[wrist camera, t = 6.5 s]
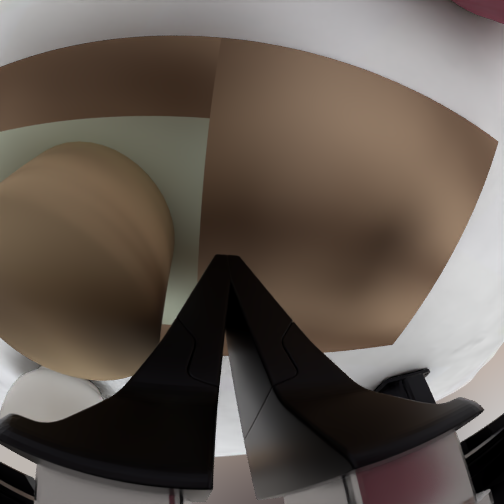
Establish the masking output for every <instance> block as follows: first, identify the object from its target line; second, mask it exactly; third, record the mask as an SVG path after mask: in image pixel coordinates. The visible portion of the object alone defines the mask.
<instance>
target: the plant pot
mask: <svg viewBox="0 0 504 504" xmlns="http://www.w3.org/2000/svg"><path fill="white" fill-rule="evenodd" d="M451 1H453V2H454V3H456V4H457V5H459V6H460V7H462V8H464V9H465V10H467V11H470V12H472V13H474V14H476V15H479V16H482V17H485V18H488V19H491V20H494V21H497V22H500V23H502V24H504V0H451Z"/></svg>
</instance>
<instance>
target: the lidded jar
mask: <svg viewBox="0 0 504 504" xmlns="http://www.w3.org/2000/svg"><path fill="white" fill-rule="evenodd" d="M100 395H101V393H100V391H99V389H98V388H97V387H96V386H95V385H94V384H93V383H91V382H90V381H89V380H87V379H81V378H76V377H72V376H68V375H65V374H61V373H59V372H56V371H53V370H51V369H48V368H46V367H44V366H40V367H39V369H37V370H33V371H30V372H28V373H25V374H23V375H22V376H21V377H19V378H18V379H17V380H16V381H15V382H14V383H13V384H12V386H11V387H10V389H9V391H8V392H7V394H6V396H5V399H4V401H3V404H2V407H1V410H0V419H1V418H3V417H4V416H6V415H8V414H11V413H14V414H18V415H20V416H23V417H26V418H29V419H31V420H34V421H38V422H54V421H58V420H61V419H64V418H67V417H69V416H71V415H73V414H75V413H78V412H80V411H82V410H84V409H86V408H89V407H91V406H93V405H95V404H97V403H99V402H101V401H103V398H102V397H101V396H100Z"/></svg>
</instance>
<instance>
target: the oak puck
mask: <svg viewBox="0 0 504 504" xmlns="http://www.w3.org/2000/svg"><path fill="white" fill-rule="evenodd" d="M174 244H175V239H174V227H173V220H172V217H171V214H170V210H169V208H168V206H167V203H166V201H165V199H164V197H163V195H162V193H161V192H160V190H159V189H158V187H157V185H156V184H155V183H154V182H153V180H152V179H151V178H150V177H149V175H148V174H147V173H146V172H145V171H144V170H143V169H142V168H141V167H140V166H139V165H137V164H136V163H135V162H133V161H132V160H131V159H129V158H128V157H127V156H125V155H123V154H121V153H120V152H118V151H116V150H114V149H111V148H109V147H106V146H104V145H100V144H96V143H92V142H80V141H79V142H67V143H63V144H59V145H56V146H54V147H52V148H50V149H47V150H46V151H44V152H43V153H41V154H40V155H38V156H36V157H35V158H33V159H32V160H30V161H29V162H28V163H26V164H25V165H23V166H22V167H20V168H19V169H18V170H16V171H15V172H14V173H12V174H11V175H10V176H8V177H7V178H6V179H4V180H3V181H2V182H0V338H2V339H3V340H4V341H5V342H6V343H7V344H9V345H10V346H11V347H12V348H14V349H15V350H16V351H18V352H19V353H21V354H22V355H24V356H25V357H27V358H29V359H30V360H32V361H34V362H36V363H38V364H40V365H42V366H44V367H46V368H48V369H51V370H53V371H56V372H59V373H61V374H65V375H68V376H72V377H76V378H81V379H87V380H100V381H107V380H117V379H123V378H126V377H130V376H133V375H134V374H135V373H136V371H137V370H138V369H139V368H140V366H141V365H142V364H143V363H144V362H145V360H146V359H147V358H148V357H149V355H150V354H151V353H152V352H153V351H154V349H155V348H156V347H157V345H158V344H159V343H160V335H161V327H162V320H163V313H164V306H165V299H166V292H167V286H168V280H169V274H170V268H171V263H172V257H173V251H174Z"/></svg>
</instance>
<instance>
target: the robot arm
mask: <svg viewBox="0 0 504 504" xmlns="http://www.w3.org/2000/svg"><path fill="white" fill-rule="evenodd" d="M225 334H226V340H227V347H228V353H229V359H230V365H231V371H232V377H233V383H234V389H235V395H236V400H237V406H238V411H239V417H240V422H241V427H242V433H243V438H244V443H245V448H246V453H247V458H248V463H249V467H250V472H251V477H252V481H253V486H254V490H255V494H256V499H257V500H261V499H270V498H277V497H284V502H285V504H504V413H503V414H502V415H501V416H499V417H498V418H497V419H495V420H494V421H492V422H491V423H490V424H488V425H487V426H485V427H484V428H482V429H481V430H479V431H478V432H476V433H475V434H473V435H472V436H470V437H468V438H467V439H465V440H464V441H462V442H460V441H459V439H458V436H457V433H456V430H458V429H459V428H461V427H462V426H464V425H465V424H467V423H468V422H470V421H471V420H473V419H474V418H475V417H477V416H478V415H479V414H481V413H482V412H483V411H484V409H483V408H482V407H481V405H479V404H478V403H476V402H475V401H473V400H469V399H466V398H462V397H459V398H456V399H454V400H452V401H450V402H447V403H442V404H436V402H435V400H434V398H433V395H432V393H431V391H430V389H429V387H428V384H427V382H426V380H425V377H426V376H427V375H428V374H429V373H430V371H429V369H425V370H421V371H418V372H414V373H410V374H406V375H402V376H398V377H394V378H390V379H387V380H385V381H384V382H383V383H382V384H381V385H380V386H379V387H378V388H377V389H376V390H375V391H371V390H368V389H366V388H364V387H362V386H360V385H358V384H357V383H356V382H354V381H353V380H352V379H351V378H349V377H348V376H347V375H346V374H345V373H344V372H343V371H342V370H341V369H340V368H339V367H338V366H336V365H335V364H334V363H333V362H332V361H331V360H330V359H329V358H328V357H327V356H326V355H325V354H324V353H323V352H322V351H321V350H319V349H318V348H317V347H316V346H315V345H314V344H313V343H312V342H311V341H310V339H309V338H308V337H307V336H306V335H305V334H304V333H303V332H302V330H301V329H300V328H299V327H298V326H297V325H296V323H295V322H293V320H292V319H291V318H290V316H289V315H288V314H287V313H286V312H285V310H284V309H283V308H282V307H281V306H280V304H279V303H278V302H277V301H276V300H275V298H274V297H273V296H272V295H271V294H270V292H269V291H268V290H267V289H266V288H265V286H264V285H263V284H262V283H261V282H260V280H259V279H258V278H257V277H256V275H255V274H254V273H253V272H252V271H251V269H250V268H249V267H248V266H247V265H246V263H245V262H244V261H243V260H242V259H241V257H240V256H238V255H224V254H216V255H215V256H214V257H213V259H212V260H211V262H210V264H209V265H208V267H207V268H206V270H205V271H204V273H203V275H202V276H201V278H200V279H199V281H198V283H197V284H196V286H195V287H194V289H193V291H192V292H191V294H190V296H189V297H188V299H187V300H186V302H185V304H184V305H183V307H182V309H181V310H180V312H179V313H178V315H177V317H176V319H175V320H174V321H173V323H172V325H171V326H170V328H169V330H168V331H167V333H166V334H165V336H164V337H163V339H162V340H161V341H160V343H159V344H158V345H157V347H156V348H155V349H154V351H153V352H152V353H151V354H150V355H149V357H148V358H147V359H146V360H145V362H144V363H143V364H142V365H141V366H140V368H139V369H138V370H137V371H136V373H135V374H134V375H133V376H132V377H131V379H130V380H129V381H128V382H127V383H126V385H125V386H124V387H123V388H122V389H121V390H119V391H118V392H117V393H116V394H114V395H113V396H111V397H109V398H107V399H105V400H103V401H101V402H99V403H97V404H95V405H93V406H91V407H89V408H86V409H84V410H82V411H80V412H78V413H75V414H73V415H71V416H69V417H67V418H64V419H61V420H58V421H54V422H38V421H34V420H31V419H29V418H26V417H23V416H20V415H18V414H14V413H11V414H8V415H6V416H4V417H3V418H1V419H0V444H1V445H3V446H5V447H6V448H8V449H10V450H11V451H13V452H15V453H17V454H19V455H20V456H22V457H24V458H26V459H28V460H30V461H32V462H34V463H36V464H37V468H36V479H35V480H34V478H32V477H30V476H28V475H26V474H24V473H22V472H20V471H18V470H16V469H13V468H12V467H10V466H8V465H6V464H4V463H2V462H0V504H192V502H206V500H207V499H208V497H209V495H210V493H211V492H212V490H213V469H214V453H215V436H216V420H217V406H218V395H219V385H220V375H221V366H222V357H223V347H224V338H225Z"/></svg>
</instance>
